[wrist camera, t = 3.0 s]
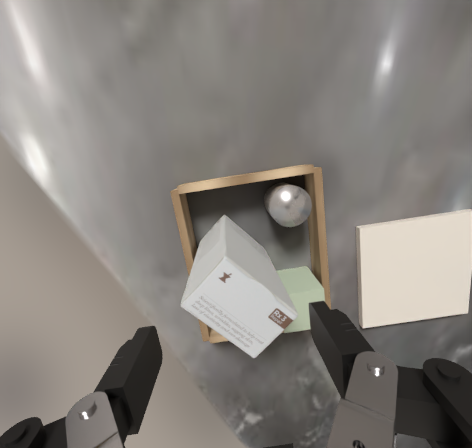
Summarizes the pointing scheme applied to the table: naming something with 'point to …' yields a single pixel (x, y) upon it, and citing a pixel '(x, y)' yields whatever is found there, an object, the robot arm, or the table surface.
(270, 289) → the skincare box
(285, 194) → the grey ball
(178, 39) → the table surface
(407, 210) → the table surface
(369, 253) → the ceramic pad
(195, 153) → the table surface
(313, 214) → the oak corral
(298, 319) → the sage block
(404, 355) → the table surface
